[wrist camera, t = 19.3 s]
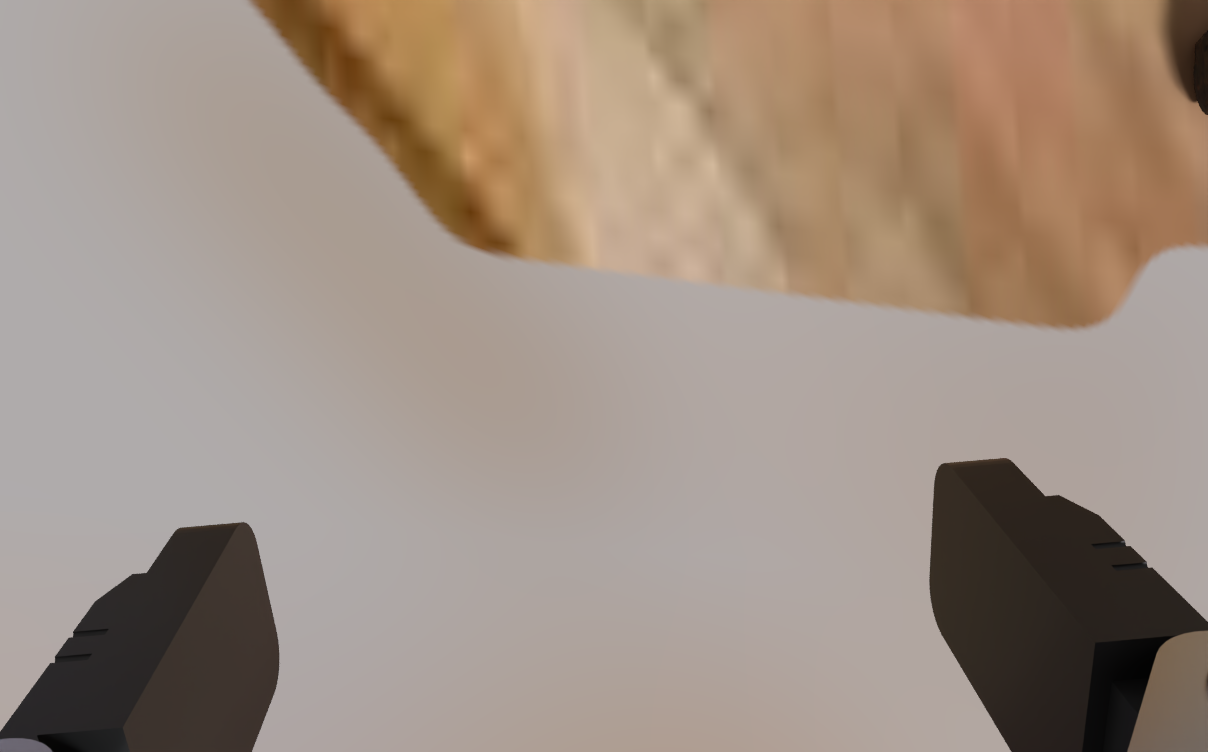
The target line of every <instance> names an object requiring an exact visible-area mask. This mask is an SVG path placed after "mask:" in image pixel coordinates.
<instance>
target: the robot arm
mask: <svg viewBox="0 0 1208 752" xmlns="http://www.w3.org/2000/svg"><path fill="white" fill-rule="evenodd" d="M930 596H931V603H932V608H933V612H934V616H935V619H936V622H937V625H938V628H939V630H940V632H941V634H942V636H943V638H944V639H945V641H946V643H947V644H948V646H949V648H950V649H951V651H952V653H953V654H954V656H955V658H956V659H957V661H958V663H959V664H960V666H961V668H962V669H963V671H964V673H965V675H966V676H967V678H968V680H969V681H970V683H971V685H972V686H973V688H974V690H975V691H976V693H977V695H978V696H979V698H980V699H981V701H982V703H983V705H984V706H985V708H986V710H987V711H988V713H989V715H990V716H991V718H992V720H993V721H994V723H995V725H996V727H997V728H998V730H999V732H1000V733H1001V735H1002V737H1003V738H1004V740H1005V742H1006V743H1007V745H1008V747H1009V748H1010V750H1011V751H1012V752H1208V622H1207V621H1206V620H1205V619H1204V618H1203V617H1202V616H1201V615H1200V614H1199V613H1198V612H1197V611H1196V610H1195V609H1194V608H1193V607H1192V606H1191V605H1190V604H1189V603H1188V602H1187V601H1186V600H1185V599H1184V598H1183V597H1182V596H1181V595H1180V594H1179V593H1177V591H1176V590H1175V589H1174V588H1173V587H1172V586H1170V585H1169V584H1168V583H1167V582H1166V581H1165V580H1164V579H1163V578H1162V577H1161V576H1160V575H1159V574H1158V573H1157V572H1156V571H1155V570H1154V569H1153V568H1148V567H1147V562H1146V561H1145V560H1144V559H1143V558H1142V557H1141V556H1140V555H1139V554H1138V553H1137V552H1136V551H1135V550H1134V549H1133V548H1132V547H1131V546H1126V545H1125V541H1124V539H1123V538H1122V537H1121V536H1119V535H1118V534H1117V533H1116V532H1115V531H1114V530H1113V529H1112V528H1111V527H1110V526H1109V525H1108V524H1107V523H1106V522H1105V521H1104V520H1103V519H1102V518H1101V517H1100V516H1099V515H1097V514H1095V513H1093V512H1091V511H1089V510H1087V509H1085V508H1083V507H1081V506H1079V505H1077V504H1075V503H1073V502H1071V501H1069V500H1067V499H1065V498H1063V497H1061V496H1059V495H1056V496H1044V494H1043V493H1042V492H1041V491H1040V490H1039V489H1038V488H1037V487H1036V486H1035V485H1034V484H1033V483H1032V482H1031V481H1030V480H1029V479H1028V478H1027V477H1026V476H1025V475H1024V474H1023V472H1022V471H1021V470H1020V469H1019V468H1018V467H1017V466H1016V465H1015V464H1014V463H1013V462H1011V460H1009V459H1007V458H1000V459H989V460H977V461H965V462H954V463H944V464H941V465H940V466H939V468H938V470H937V473H936V476H935V483H934V500H933V519H932V539H931V558H930ZM73 633H74V634H73V638H68V640H67V641H66V642H65V644H64V645H63V647H62V648H61V649H60V651H59V652H58V654H57V655H56V656H55V663H50V664H49V666H48V667H47V668H46V670H45V671H44V673H43V674H42V675H41V677H40V678H39V679H38V681H37V682H36V684H35V685H34V686H33V688H32V689H31V690H30V692H29V693H28V694H27V696H26V697H25V699H24V700H23V701H22V703H21V704H20V706H19V707H18V709H17V710H16V711H15V712H14V714H13V715H12V716H11V718H10V719H9V721H8V722H7V723H6V725H5V726H4V727H3V729H2V730H1V731H0V752H252V750H253V747H254V744H255V742H256V739H257V737H258V734H259V731H260V729H261V726H262V723H263V721H264V718H265V716H266V713H267V711H268V708H269V705H270V703H271V700H272V698H273V695H274V692H275V689H276V685H277V680H278V673H279V645H278V637H277V632H276V627H275V623H274V618H273V613H272V609H271V605H270V600H269V596H268V591H267V586H266V582H265V578H264V573H263V568H262V564H261V559H260V555H259V550H258V546H257V542H256V538H255V535H254V533H253V531H252V529H251V527H250V526H249V525H248V524H247V523H244V522H242V523H231V524H220V525H219V524H218V525H207V526H196V527H184V528H179V529H177V530H176V531H175V532H174V534H173V535H172V536H171V538H170V539H169V541H168V542H167V544H166V545H165V547H164V548H163V550H162V551H161V553H160V554H159V556H158V557H157V559H156V560H155V562H154V563H153V565H152V566H151V567H150V569H149V570H148V572H147V573H142V574H132V575H131V576H129V577H128V578H127V579H125V580H124V581H123V582H121V583H120V584H119V585H118V586H116V587H114V588H113V589H112V590H110V591H109V592H108V593H106V594H105V595H104V596H102V597H101V598H99V599H98V600H97V601H95V603H94V604H93V605H92V607H91V608H90V610H89V611H88V612H87V614H86V615H85V616H84V618H83V619H82V620H81V622H80V623H79V624H78V626H77V627H76V629H75V630H74V631H73Z"/></svg>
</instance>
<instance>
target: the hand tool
mask: <svg viewBox="0 0 1208 752" xmlns="http://www.w3.org/2000/svg"><path fill="white" fill-rule="evenodd" d="M1194 86H1195V92H1196V96H1197V101H1198V103H1199V106H1200V107H1201V109H1202V111H1203V112H1204V113H1205V114H1206V115H1208V31H1207V32H1206V33H1205V34H1204V35H1203V37H1202V38H1201V39H1200V40H1199V41H1198V42H1197V43H1196V46H1195V66H1194Z"/></svg>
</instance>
